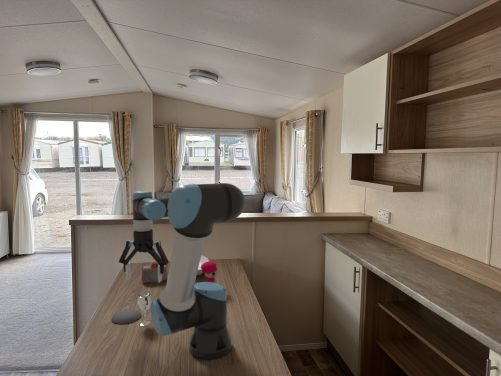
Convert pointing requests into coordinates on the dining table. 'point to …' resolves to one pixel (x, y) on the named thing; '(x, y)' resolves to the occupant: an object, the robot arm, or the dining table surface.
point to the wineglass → (144, 306)
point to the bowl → (202, 260)
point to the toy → (209, 270)
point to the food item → (152, 273)
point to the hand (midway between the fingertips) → (144, 280)
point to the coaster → (126, 316)
